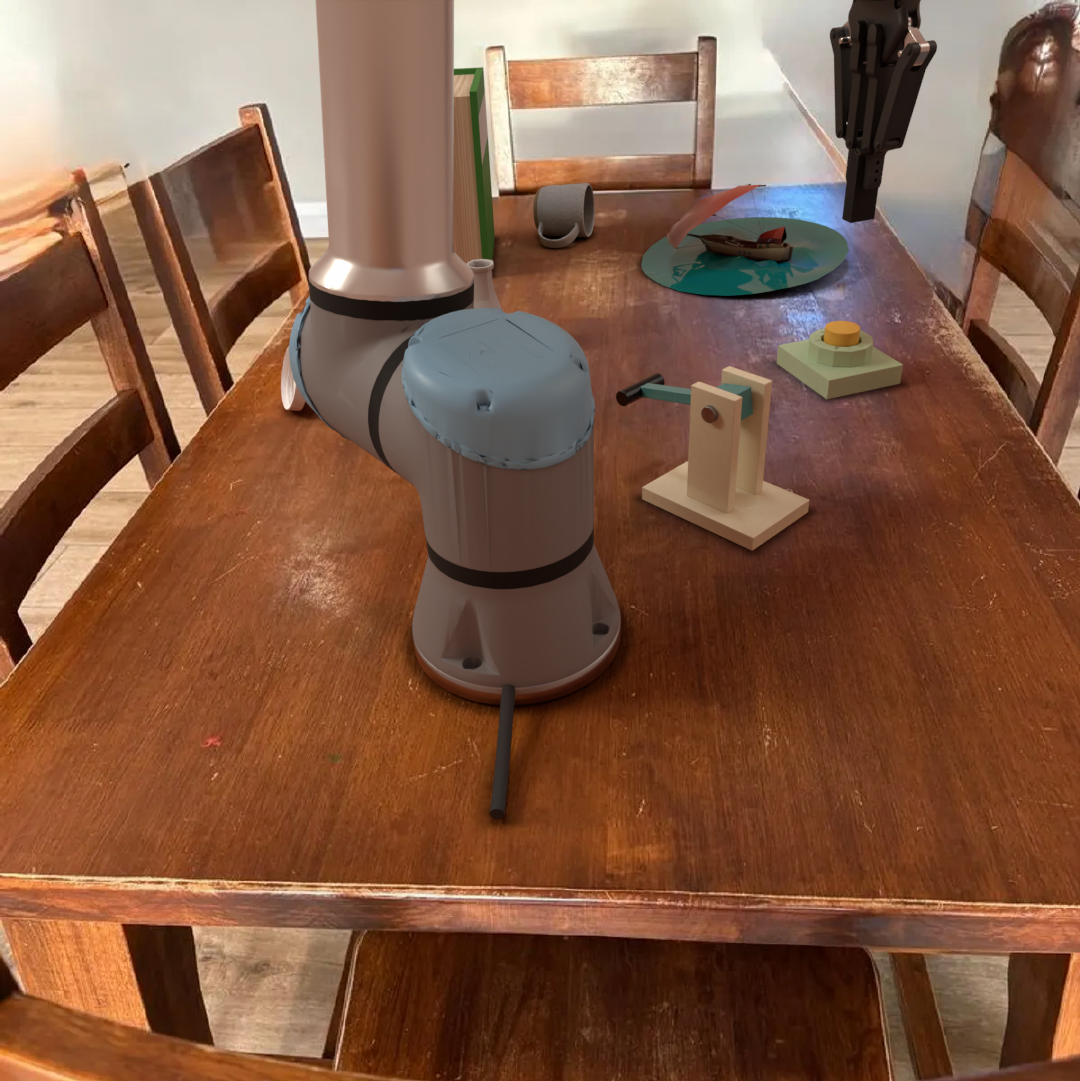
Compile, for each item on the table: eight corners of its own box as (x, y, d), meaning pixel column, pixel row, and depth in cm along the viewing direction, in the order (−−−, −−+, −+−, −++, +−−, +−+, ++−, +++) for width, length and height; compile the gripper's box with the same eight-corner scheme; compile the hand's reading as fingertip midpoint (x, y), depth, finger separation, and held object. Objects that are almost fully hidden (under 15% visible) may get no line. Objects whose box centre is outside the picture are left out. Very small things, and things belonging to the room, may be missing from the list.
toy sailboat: (690, 223, 156) (687, 149, 150) (873, 234, 143) (878, 153, 136) (607, 295, 138) (599, 214, 132) (808, 316, 125) (810, 227, 118)
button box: (900, 383, 107) (906, 348, 105) (826, 399, 105) (831, 364, 102) (845, 349, 115) (850, 316, 113) (776, 363, 113) (779, 329, 110)
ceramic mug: (544, 226, 158) (542, 176, 154) (596, 228, 156) (595, 177, 152) (527, 249, 150) (524, 196, 145) (581, 251, 148) (579, 198, 143)
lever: (617, 410, 90) (613, 385, 89) (654, 392, 93) (651, 367, 91) (726, 429, 81) (723, 401, 80) (764, 408, 84) (761, 380, 83)
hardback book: (490, 277, 140) (476, 91, 127) (436, 279, 140) (417, 93, 127) (494, 238, 155) (483, 67, 141) (446, 240, 155) (430, 69, 141)
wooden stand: (641, 499, 90) (643, 377, 83) (698, 466, 94) (704, 348, 88) (752, 551, 83) (763, 422, 76) (808, 512, 87) (823, 387, 81)
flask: (509, 359, 117) (503, 275, 111) (448, 356, 118) (440, 273, 112) (522, 334, 123) (517, 253, 117) (464, 332, 124) (457, 252, 118)
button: (865, 345, 107) (867, 330, 106) (835, 351, 106) (837, 335, 105) (845, 333, 110) (847, 318, 109) (816, 339, 109) (818, 324, 108)
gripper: (980, -55, 83) (931, 231, 96) (884, -62, 93) (852, 197, 107) (902, -48, 81) (864, 243, 94) (813, -56, 91) (790, 207, 105)
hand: (858, 218), depth 101 cm, fingers closed
